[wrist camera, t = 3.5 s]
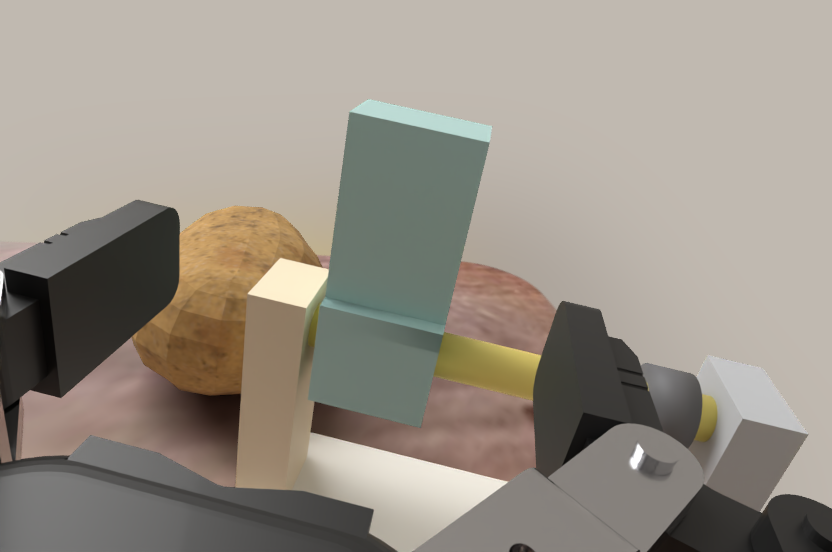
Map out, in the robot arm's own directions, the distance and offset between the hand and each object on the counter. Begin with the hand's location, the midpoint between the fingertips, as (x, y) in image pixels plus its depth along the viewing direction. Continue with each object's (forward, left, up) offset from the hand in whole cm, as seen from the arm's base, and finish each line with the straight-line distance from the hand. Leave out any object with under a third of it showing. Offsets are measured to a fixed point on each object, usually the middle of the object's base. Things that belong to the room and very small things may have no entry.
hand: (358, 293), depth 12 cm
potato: (-9, +16, -15) cm, 23 cm away
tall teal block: (0, +7, -7) cm, 10 cm away
